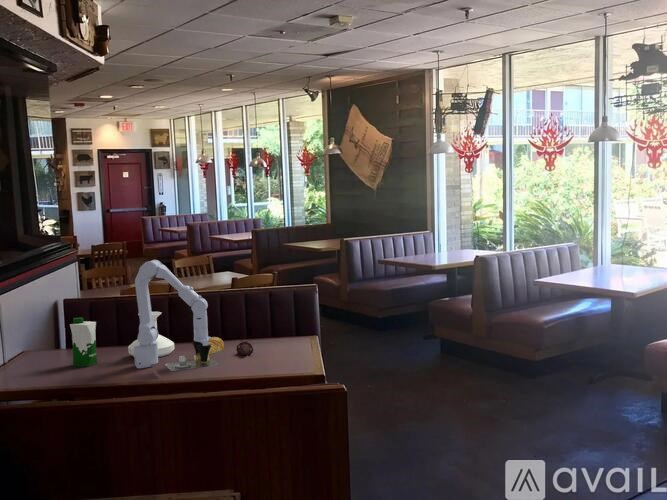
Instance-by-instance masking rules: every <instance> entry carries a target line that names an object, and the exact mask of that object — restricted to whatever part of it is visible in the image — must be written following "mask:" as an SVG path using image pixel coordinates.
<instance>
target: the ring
mask: <svg viewBox="0 0 667 500" xmlns="http://www.w3.org/2000/svg"><path fill="white" fill-rule="evenodd" d="M209 358H210V354H209V353H208V359H207V362H208V361H210V359H209ZM193 359H194V360H195V362H196V363H205V362H202V361H201V357H200V353H197V354H196V353H195V354H194V356H193Z"/></svg>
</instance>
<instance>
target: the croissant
mask: <svg viewBox="0 0 667 500" xmlns="http://www.w3.org/2000/svg"><path fill="white" fill-rule="evenodd" d="M210 337H211V336H210ZM208 345H211V348H210V350H209V355H211V354H216V353H219V352H221V351H224V348H225V343H224V341H223V340H222V338H220V337H218V336H212V337H211V339H209V340H208Z"/></svg>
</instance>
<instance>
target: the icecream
mask: <svg viewBox="0 0 667 500" xmlns="http://www.w3.org/2000/svg"><path fill="white" fill-rule="evenodd" d="M235 350H236V352H237V355H241V356H242V355H243V356H248V357H250V356H251V355H252V354H253V353H254V347H253V345H252V344H251V343H250V342H249V341H240V343H239V344H237V346H236V349H235Z"/></svg>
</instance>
